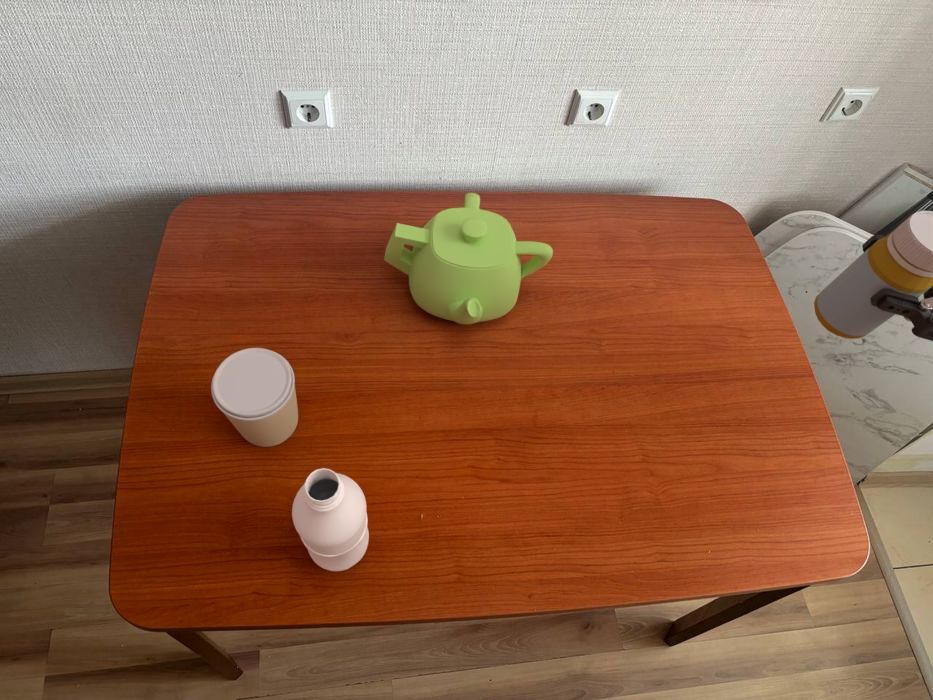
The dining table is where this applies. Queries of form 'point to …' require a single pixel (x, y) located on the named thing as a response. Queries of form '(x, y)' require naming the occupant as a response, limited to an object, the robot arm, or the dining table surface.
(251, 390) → the coffee cup
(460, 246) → the teapot
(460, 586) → the dining table surface
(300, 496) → the water bottle
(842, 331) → the bottle
